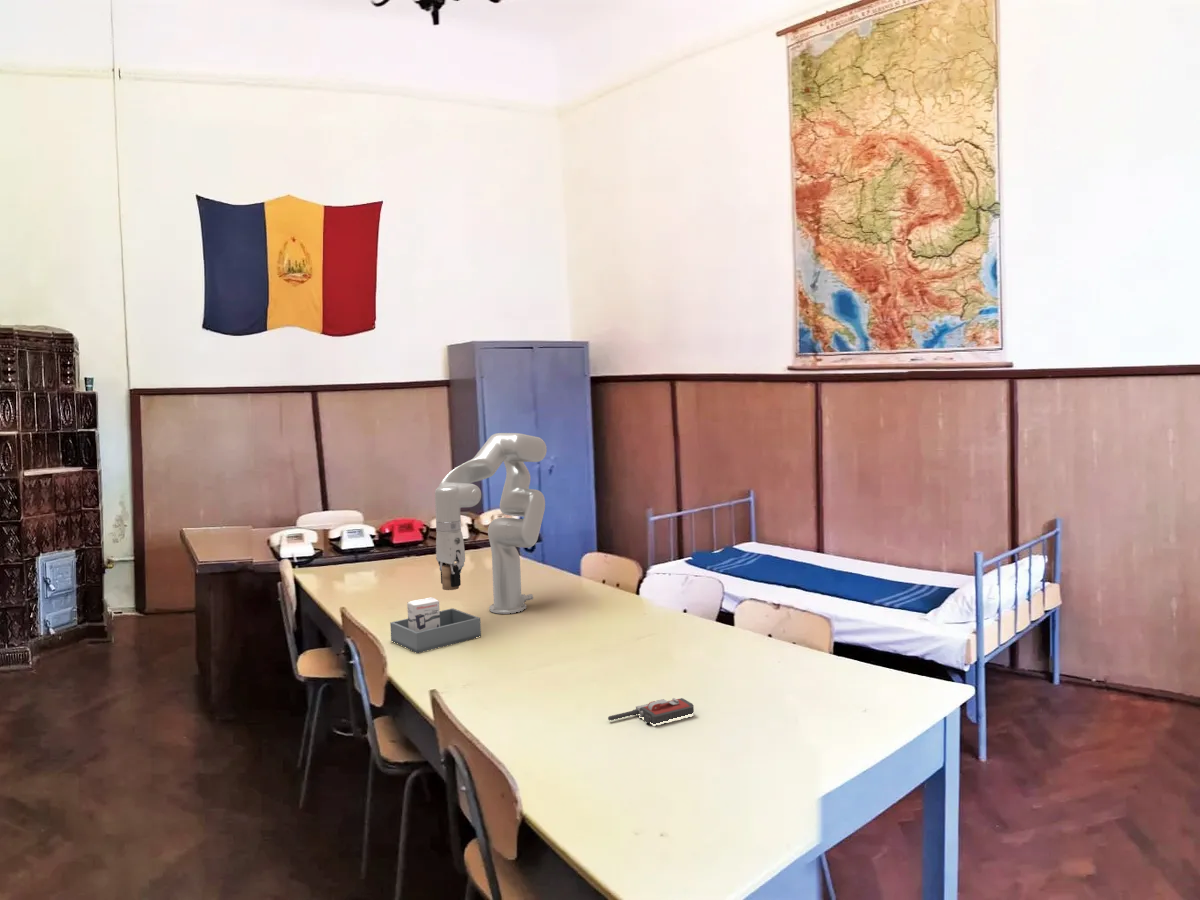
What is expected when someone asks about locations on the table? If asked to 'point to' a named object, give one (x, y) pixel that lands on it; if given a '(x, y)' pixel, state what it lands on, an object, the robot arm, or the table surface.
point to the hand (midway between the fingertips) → (450, 584)
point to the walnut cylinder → (447, 578)
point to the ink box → (423, 614)
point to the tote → (437, 631)
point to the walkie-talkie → (660, 710)
